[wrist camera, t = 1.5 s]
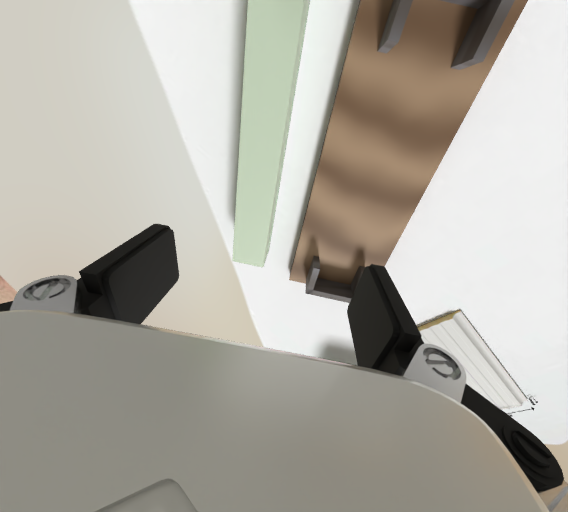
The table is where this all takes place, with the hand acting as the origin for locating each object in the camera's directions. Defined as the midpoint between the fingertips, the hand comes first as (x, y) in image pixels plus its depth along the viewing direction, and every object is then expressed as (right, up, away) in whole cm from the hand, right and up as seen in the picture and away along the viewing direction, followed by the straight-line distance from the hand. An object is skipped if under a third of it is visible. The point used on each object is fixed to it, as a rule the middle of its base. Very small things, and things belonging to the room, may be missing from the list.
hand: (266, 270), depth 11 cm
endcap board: (+11, +9, +15) cm, 20 cm away
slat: (-1, +13, +14) cm, 19 cm away
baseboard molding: (+36, -20, +30) cm, 51 cm away
